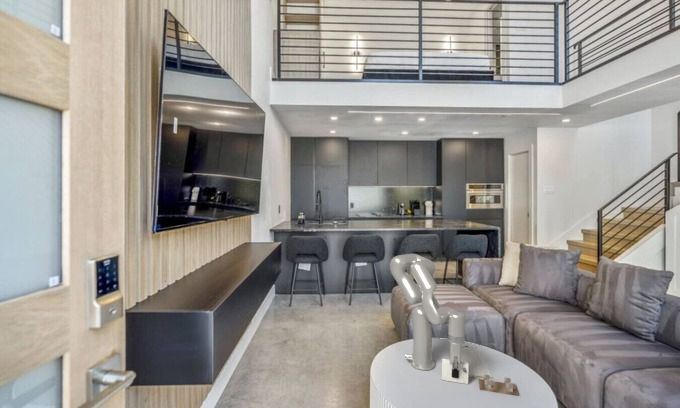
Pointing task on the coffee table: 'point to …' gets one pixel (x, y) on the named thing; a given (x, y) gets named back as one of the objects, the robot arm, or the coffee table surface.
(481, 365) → the baseboard molding
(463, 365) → the cabinet door
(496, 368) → the coffee table surface
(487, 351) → the coffee table surface
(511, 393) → the hinge mount
